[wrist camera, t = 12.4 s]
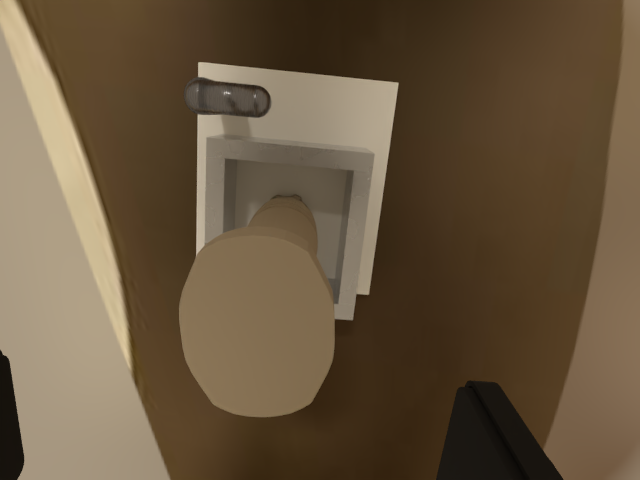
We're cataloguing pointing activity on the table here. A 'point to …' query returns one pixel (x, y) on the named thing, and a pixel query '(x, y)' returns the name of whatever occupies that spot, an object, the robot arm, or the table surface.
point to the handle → (260, 314)
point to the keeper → (295, 159)
